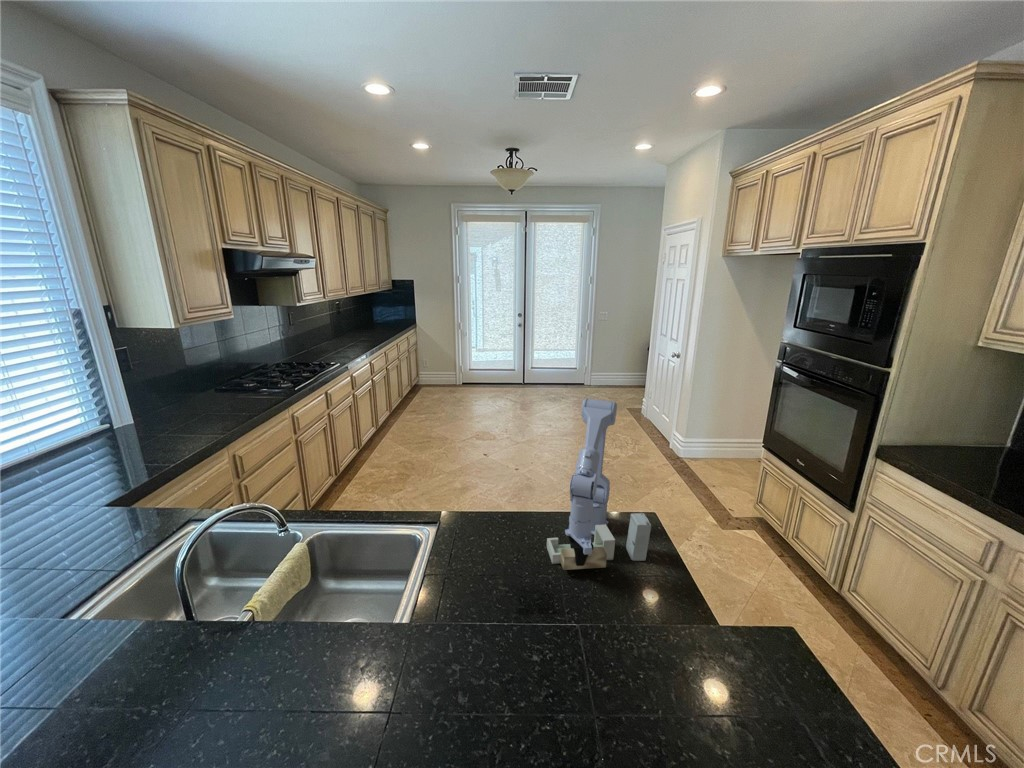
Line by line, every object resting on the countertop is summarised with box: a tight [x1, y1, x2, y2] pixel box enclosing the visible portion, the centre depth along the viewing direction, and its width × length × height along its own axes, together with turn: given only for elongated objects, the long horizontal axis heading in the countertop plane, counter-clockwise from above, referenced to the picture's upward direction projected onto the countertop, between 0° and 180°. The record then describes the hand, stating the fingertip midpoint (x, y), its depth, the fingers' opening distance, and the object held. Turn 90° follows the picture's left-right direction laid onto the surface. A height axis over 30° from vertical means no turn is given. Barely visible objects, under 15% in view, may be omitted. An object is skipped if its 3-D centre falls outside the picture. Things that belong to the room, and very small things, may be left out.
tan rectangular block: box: [560, 547, 608, 571], centre depth 111 cm, size 12×4×4 cm, turn 98°
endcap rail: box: [546, 524, 616, 565], centre depth 118 cm, size 18×8×7 cm, turn 98°
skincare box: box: [625, 512, 652, 562], centre depth 117 cm, size 6×4×12 cm
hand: (577, 559), depth 111 cm, fingers closed on tan rectangular block, 3 cm apart
